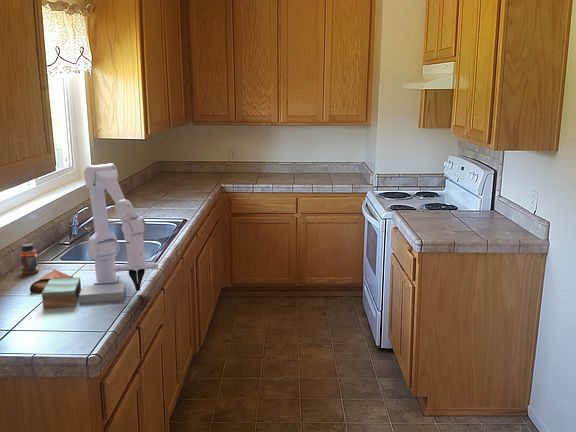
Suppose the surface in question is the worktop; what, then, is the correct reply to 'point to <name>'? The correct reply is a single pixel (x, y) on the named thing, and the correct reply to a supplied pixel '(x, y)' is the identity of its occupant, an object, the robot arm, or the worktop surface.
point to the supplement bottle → (28, 259)
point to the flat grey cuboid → (102, 293)
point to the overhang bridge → (61, 293)
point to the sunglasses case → (41, 283)
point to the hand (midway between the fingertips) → (138, 289)
